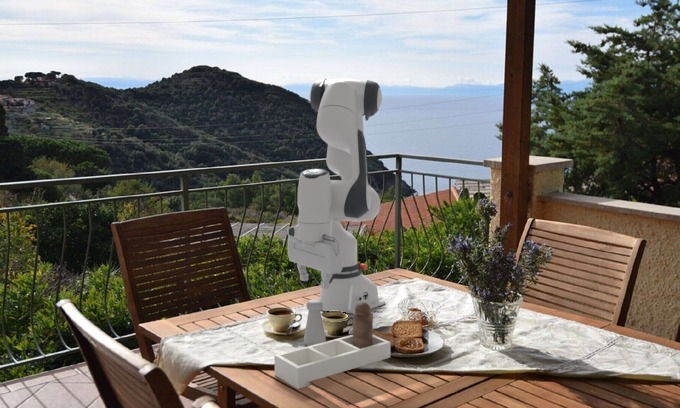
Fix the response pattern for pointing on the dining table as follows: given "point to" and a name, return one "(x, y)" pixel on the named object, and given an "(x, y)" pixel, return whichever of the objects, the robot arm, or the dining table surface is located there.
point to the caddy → (327, 359)
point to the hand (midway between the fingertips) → (314, 284)
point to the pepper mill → (362, 326)
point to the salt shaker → (314, 323)
